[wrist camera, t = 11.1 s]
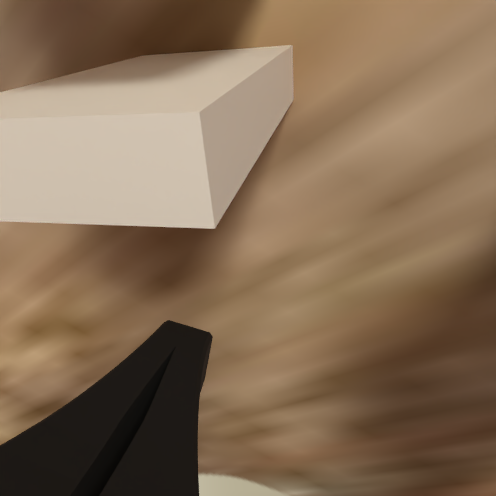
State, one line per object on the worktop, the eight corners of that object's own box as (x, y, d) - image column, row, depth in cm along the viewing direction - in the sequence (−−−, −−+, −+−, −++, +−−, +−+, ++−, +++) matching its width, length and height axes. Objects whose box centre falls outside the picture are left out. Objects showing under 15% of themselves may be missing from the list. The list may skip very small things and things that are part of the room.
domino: (293, 99, 13) (214, 228, 6) (152, 105, 14) (-68, 218, 7) (292, 44, 12) (199, 112, 5) (143, 55, 14) (-118, 123, 6)
